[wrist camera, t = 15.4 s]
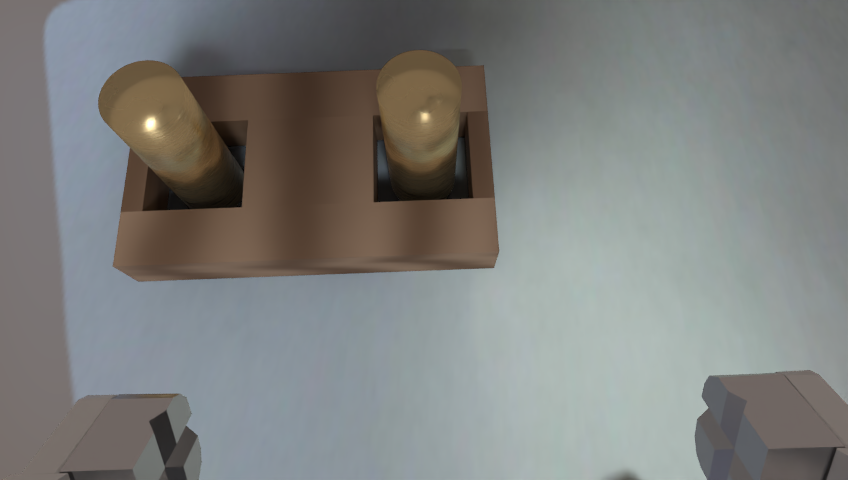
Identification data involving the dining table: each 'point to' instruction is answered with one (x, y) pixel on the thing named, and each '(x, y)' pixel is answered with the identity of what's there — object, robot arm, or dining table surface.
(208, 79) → the wooden socket block
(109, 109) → the seated billet
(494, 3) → the dining table surface
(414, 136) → the loose billet
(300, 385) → the dining table surface
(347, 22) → the dining table surface
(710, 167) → the dining table surface
